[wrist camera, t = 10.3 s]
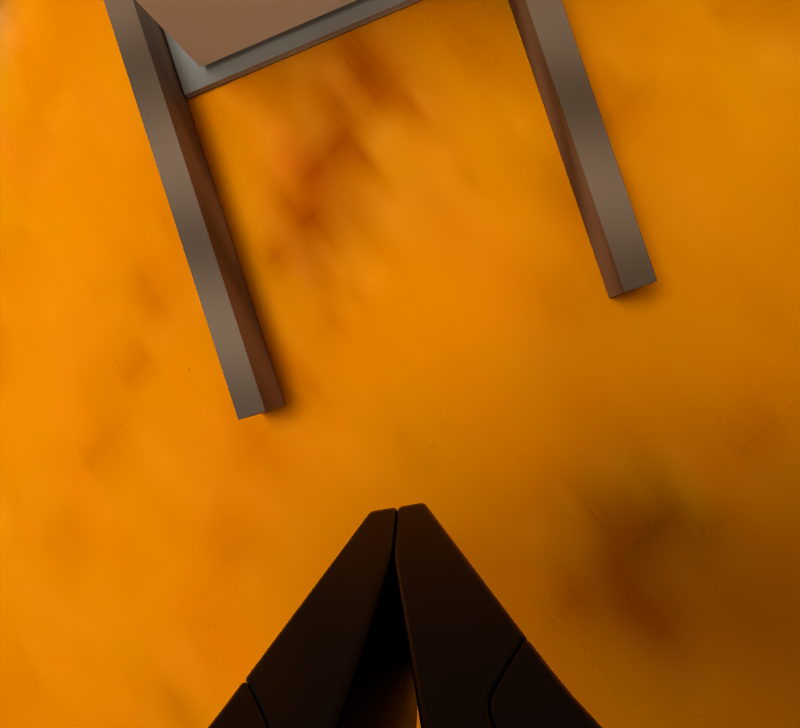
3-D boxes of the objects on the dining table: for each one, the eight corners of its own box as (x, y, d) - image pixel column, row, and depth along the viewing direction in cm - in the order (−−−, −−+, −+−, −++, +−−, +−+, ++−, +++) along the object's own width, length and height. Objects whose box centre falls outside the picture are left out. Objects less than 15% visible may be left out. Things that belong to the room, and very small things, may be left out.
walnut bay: (638, 288, 19) (668, 276, 16) (260, 413, 21) (225, 423, 18) (415, -367, 20) (404, -495, 17) (67, -187, 22) (2, -274, 19)
